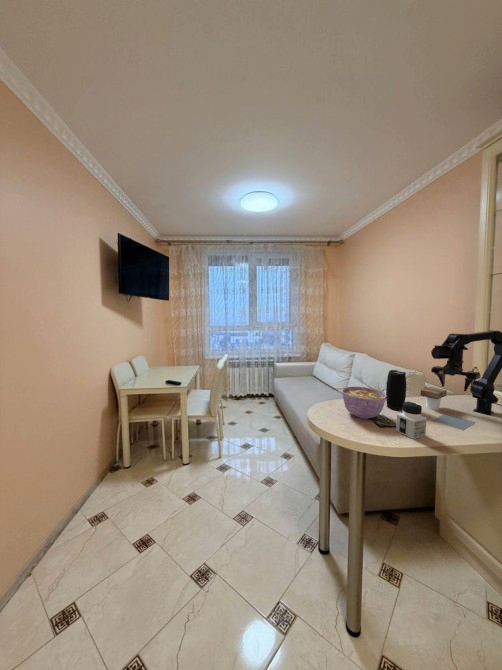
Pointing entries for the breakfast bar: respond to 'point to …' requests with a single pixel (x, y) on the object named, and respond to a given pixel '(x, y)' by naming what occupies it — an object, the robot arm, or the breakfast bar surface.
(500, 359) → the robot arm
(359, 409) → the bowl of food
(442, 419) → the rubber mat
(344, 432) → the breakfast bar surface
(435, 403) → the white cup
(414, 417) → the container
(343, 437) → the breakfast bar surface
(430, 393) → the brown rectangular block
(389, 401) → the portable speaker
